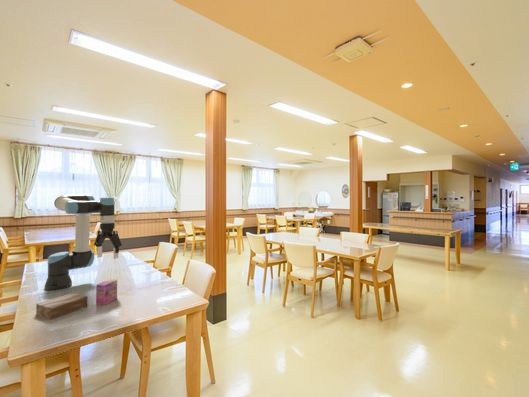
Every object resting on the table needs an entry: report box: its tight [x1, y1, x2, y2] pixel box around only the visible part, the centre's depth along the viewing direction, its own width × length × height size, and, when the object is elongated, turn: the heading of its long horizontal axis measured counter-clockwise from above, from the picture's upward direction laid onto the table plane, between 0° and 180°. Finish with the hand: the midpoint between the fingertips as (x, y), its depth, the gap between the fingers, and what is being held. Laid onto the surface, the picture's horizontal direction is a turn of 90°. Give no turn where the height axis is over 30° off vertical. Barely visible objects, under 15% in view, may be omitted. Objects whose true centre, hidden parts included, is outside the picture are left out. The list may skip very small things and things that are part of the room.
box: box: [95, 278, 118, 306], centre depth 158 cm, size 10×6×12 cm, turn 168°
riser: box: [35, 292, 88, 320], centre depth 146 cm, size 14×18×6 cm
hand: (107, 257), depth 160 cm, fingers open, 13 cm apart
